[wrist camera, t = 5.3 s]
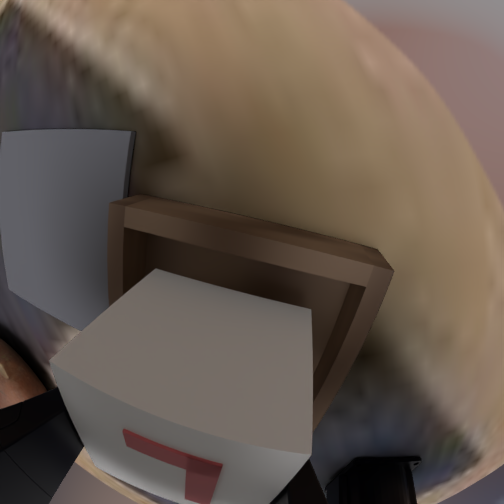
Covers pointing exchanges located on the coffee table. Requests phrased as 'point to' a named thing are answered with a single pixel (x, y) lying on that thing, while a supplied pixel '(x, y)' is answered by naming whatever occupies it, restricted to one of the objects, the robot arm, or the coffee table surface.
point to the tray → (256, 272)
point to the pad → (61, 216)
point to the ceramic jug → (16, 378)
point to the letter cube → (193, 391)
